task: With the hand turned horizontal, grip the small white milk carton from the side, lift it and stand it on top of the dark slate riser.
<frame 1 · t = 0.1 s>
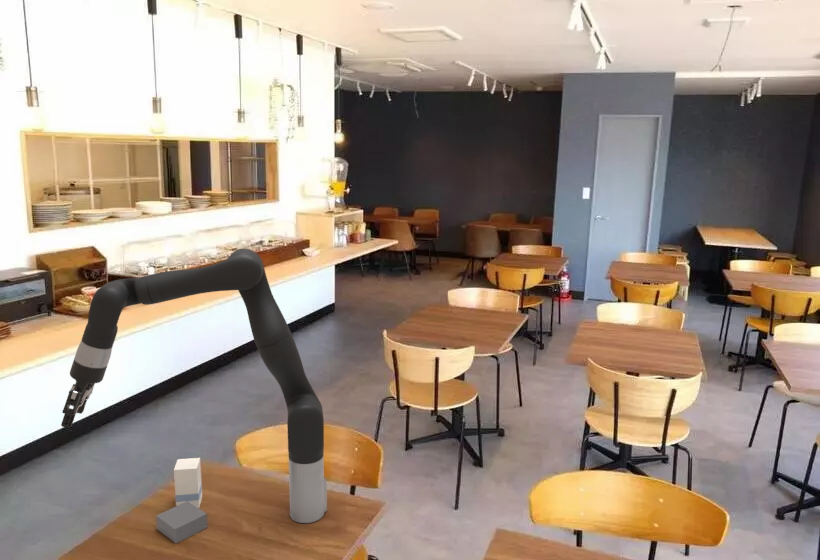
hand: (72, 419, 156), 31 cm above the table, tool tilted 20°, fingers open, 8 cm apart
slate riser: (182, 528, 165), on the table
milk carton: (189, 503, 176), on the table
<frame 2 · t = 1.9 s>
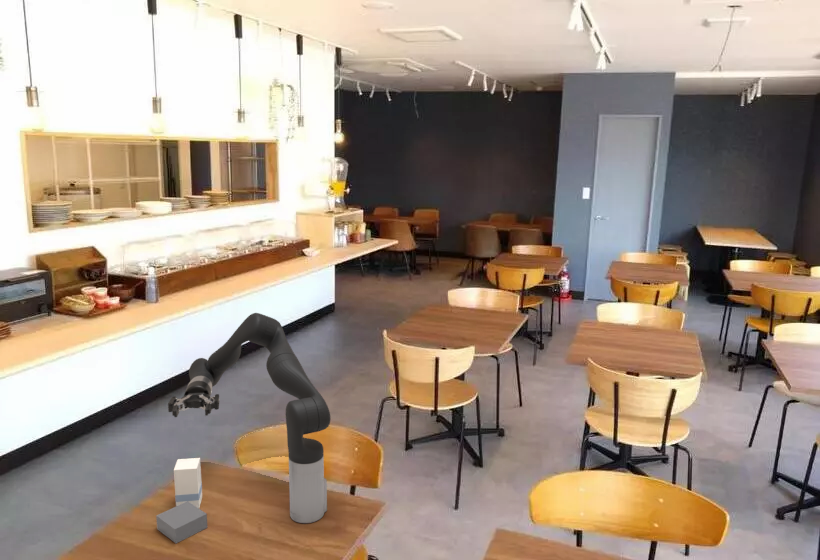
hand: (191, 413, 182), 22 cm above the table, tool horizontal, fingers open, 8 cm apart
nothing on the table moved.
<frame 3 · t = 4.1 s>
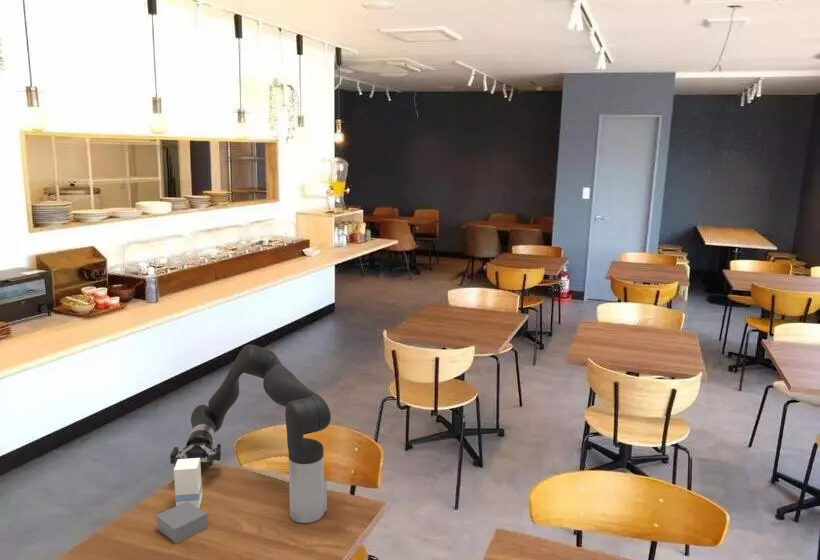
hand: (192, 465, 183), 7 cm above the table, tool horizontal, fingers open, 8 cm apart
nothing on the table moved.
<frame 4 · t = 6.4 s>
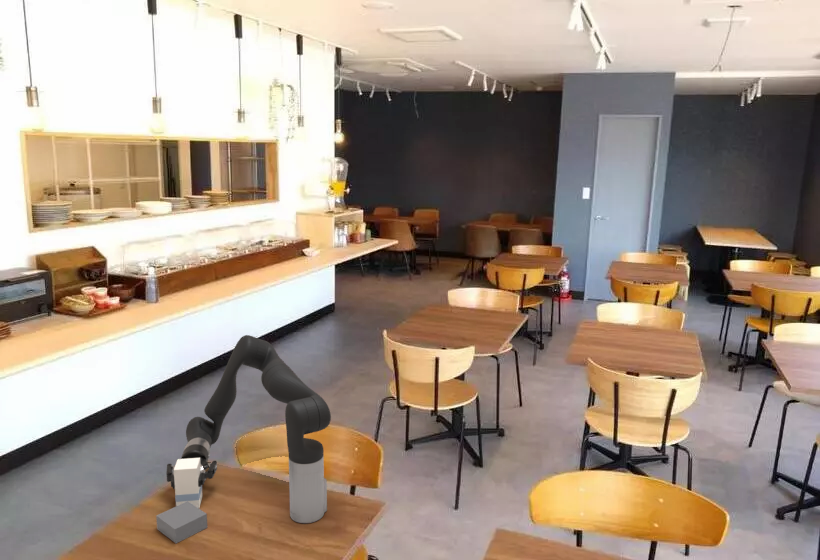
hand: (186, 484, 173), 7 cm above the table, tool horizontal, fingers closed on milk carton, 6 cm apart
milk carton: (189, 503, 176), on the table, touching gripper
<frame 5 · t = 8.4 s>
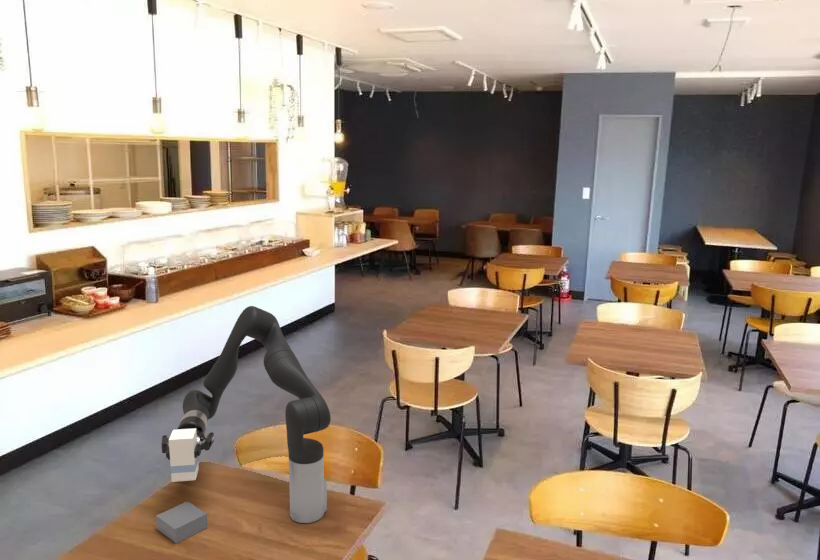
hand: (182, 455, 167), 18 cm above the table, tool horizontal, fingers closed on milk carton, 6 cm apart
milk carton: (185, 475, 170), point 11 cm above the table, touching gripper
when the fingers open (12 cm above the table, at t = 10.8 s): milk carton drops 1 cm, resting on slate riser.
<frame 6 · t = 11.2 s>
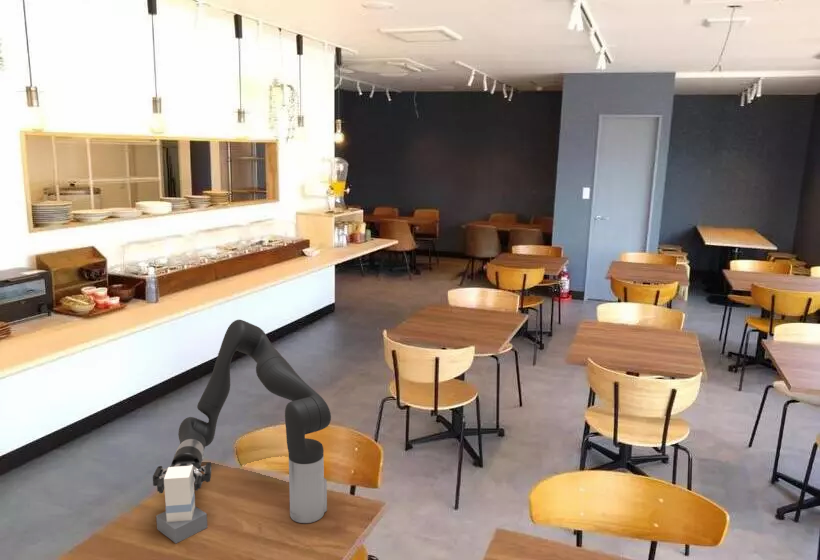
hand: (178, 488, 160), 13 cm above the table, tool horizontal, fingers open, 8 cm apart
milk carton: (181, 514, 164), point 4 cm above the table, touching slate riser
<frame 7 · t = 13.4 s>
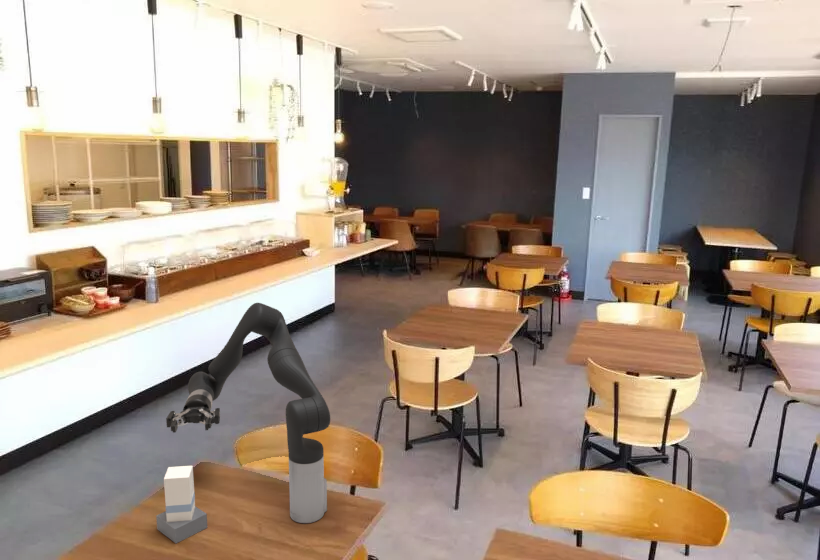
hand: (190, 428, 174), 22 cm above the table, tool horizontal, fingers open, 8 cm apart
nothing on the table moved.
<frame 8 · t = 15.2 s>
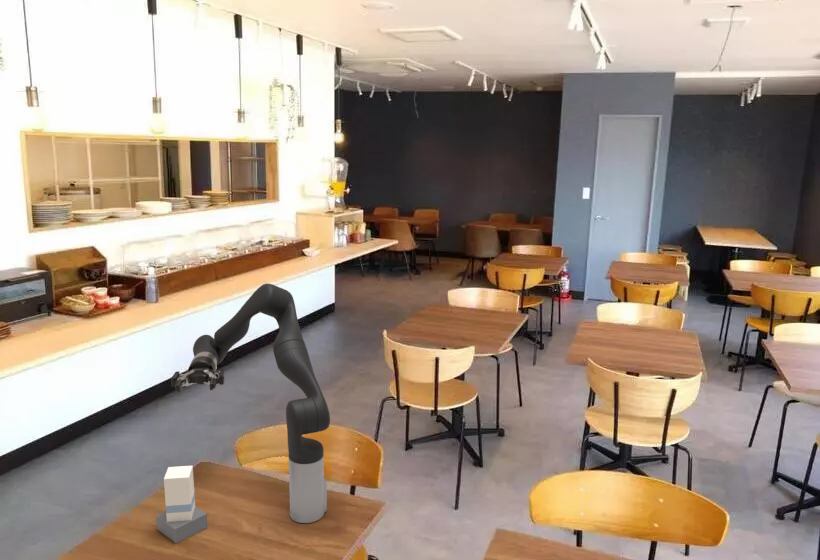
hand: (195, 387, 175), 32 cm above the table, tool horizontal, fingers open, 8 cm apart
nothing on the table moved.
at the end: milk carton 0.2 cm off-centre on the slate riser, point 4.0 cm above the slate riser's base; milk carton tilted 0°; the gripper is holding nothing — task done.
